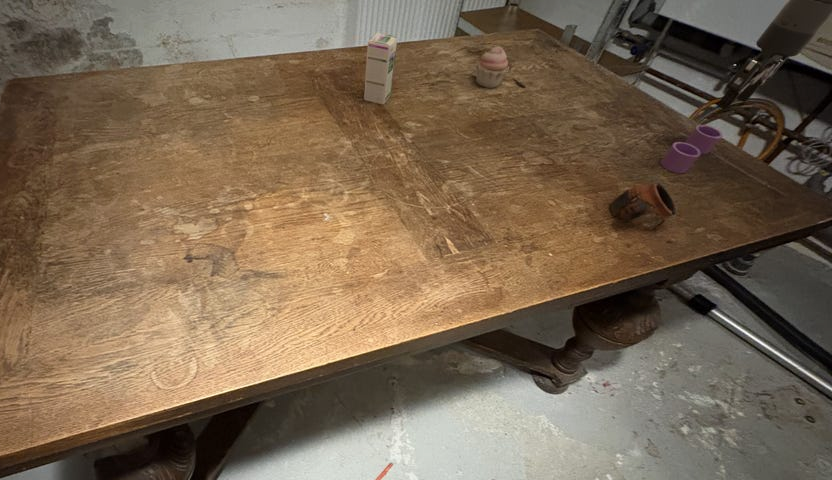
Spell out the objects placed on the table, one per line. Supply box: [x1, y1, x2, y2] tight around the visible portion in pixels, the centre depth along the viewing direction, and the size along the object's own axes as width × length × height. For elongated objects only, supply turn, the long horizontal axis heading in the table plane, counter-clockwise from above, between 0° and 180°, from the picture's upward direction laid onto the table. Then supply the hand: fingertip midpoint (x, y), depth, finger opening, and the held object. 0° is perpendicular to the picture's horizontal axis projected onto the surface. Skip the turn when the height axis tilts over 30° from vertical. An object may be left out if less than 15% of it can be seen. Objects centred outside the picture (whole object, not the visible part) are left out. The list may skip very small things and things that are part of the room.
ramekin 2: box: [683, 124, 723, 155], centre depth 100 cm, size 6×6×4 cm
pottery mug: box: [610, 181, 677, 230], centre depth 80 cm, size 12×10×8 cm
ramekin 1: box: [659, 141, 702, 174], centre depth 94 cm, size 6×6×4 cm
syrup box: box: [363, 32, 398, 106], centre depth 102 cm, size 6×6×14 cm
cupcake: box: [475, 45, 510, 89], centre depth 113 cm, size 9×9×10 cm
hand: (731, 103), depth 93 cm, fingers open, 8 cm apart
